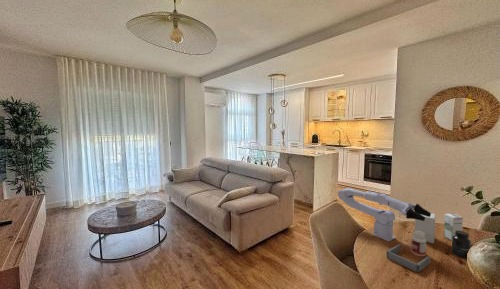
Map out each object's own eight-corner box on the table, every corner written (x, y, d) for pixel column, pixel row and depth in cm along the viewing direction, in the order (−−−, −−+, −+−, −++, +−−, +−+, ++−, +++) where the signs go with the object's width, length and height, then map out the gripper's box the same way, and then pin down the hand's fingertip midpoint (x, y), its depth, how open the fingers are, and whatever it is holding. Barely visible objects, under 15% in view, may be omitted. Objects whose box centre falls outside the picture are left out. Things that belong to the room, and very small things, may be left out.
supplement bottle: (464, 259, 106) (465, 236, 105) (448, 252, 112) (449, 230, 111) (473, 257, 108) (474, 234, 107) (457, 249, 114) (458, 228, 113)
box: (386, 257, 109) (386, 251, 109) (399, 250, 115) (399, 243, 115) (417, 272, 97) (418, 265, 97) (429, 263, 103) (430, 256, 103)
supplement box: (434, 237, 127) (435, 213, 126) (434, 244, 120) (435, 218, 119) (415, 233, 133) (416, 210, 132) (414, 238, 126) (414, 214, 125)
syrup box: (462, 241, 122) (463, 217, 121) (452, 241, 123) (453, 217, 121) (453, 236, 128) (454, 213, 127) (443, 236, 128) (444, 213, 127)
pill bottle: (408, 250, 115) (408, 230, 114) (418, 249, 115) (419, 229, 114) (418, 257, 108) (418, 236, 108) (428, 256, 109) (429, 235, 108)
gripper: (394, 202, 117) (423, 213, 106) (405, 196, 124) (434, 206, 113) (391, 213, 119) (420, 226, 107) (403, 207, 126) (431, 218, 115)
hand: (427, 217), depth 110 cm, fingers open, 7 cm apart
